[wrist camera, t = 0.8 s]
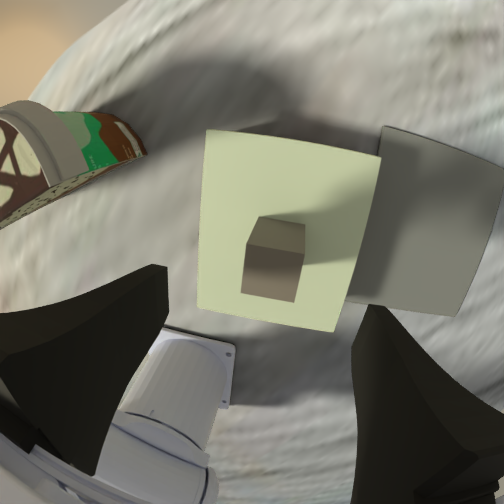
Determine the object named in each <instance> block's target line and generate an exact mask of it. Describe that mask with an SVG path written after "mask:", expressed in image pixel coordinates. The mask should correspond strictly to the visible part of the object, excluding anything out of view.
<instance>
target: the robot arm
mask: <svg viewBox="0 0 504 504" xmlns="http://www.w3.org/2000/svg"><path fill="white" fill-rule="evenodd" d="M168 314H169V299H168V271H167V267H165V266H160V265H156V264H150V265H148V266H145V267H143V268H140V269H138V270H136V271H134V272H132V273H129V274H127V275H125V276H123V277H121V278H119V279H117V280H114V281H112V282H110V283H108V284H106V285H103V286H101V287H99V288H96V289H94V290H91V291H89V292H87V293H84V294H82V295H79V296H76V297H74V298H71V299H67V300H64V301H61V302H58V303H54V304H50V305H46V306H42V307H38V308H34V309H29V310H23V311H17V312H9V313H0V504H216V501H217V497H218V492H219V481H218V478H217V476H216V473H215V470H214V469H213V468H211V467H208V466H207V465H208V461H209V458H210V454H207V453H205V452H204V451H205V448H206V445H207V442H208V439H209V435H210V432H211V429H212V426H213V423H214V420H215V417H216V413H217V410H218V408H220V409H228V408H229V403H230V395H231V386H232V377H233V368H234V360H235V351H236V348H235V346H234V345H233V344H230V343H225V342H221V341H216V340H212V339H208V338H203V337H199V336H195V335H191V334H187V333H183V332H179V331H175V330H171V329H167V328H163V325H164V323H165V321H166V318H167V316H168ZM148 351H149V356H150V357H149V358H148V360H147V362H146V363H145V365H144V367H143V369H142V370H141V372H140V374H139V375H138V377H137V379H136V380H135V382H134V384H133V385H132V387H131V389H130V391H129V392H128V394H127V396H126V397H125V399H124V401H123V403H122V404H121V406H120V408H119V410H118V409H117V407H118V405H119V403H120V400H121V398H122V396H123V394H124V392H125V389H126V387H127V385H128V383H129V382H130V380H131V378H132V376H133V375H134V373H135V372H136V370H137V368H138V367H139V365H140V364H141V362H142V361H143V359H144V357H145V356H146V354H147V353H148ZM227 352H228V353H227ZM229 353H231V354H229ZM351 361H352V379H353V388H354V396H355V405H356V414H357V427H358V439H357V458H356V468H355V478H354V485H353V491H352V498H351V503H350V504H504V495H503V496H501V497H499V498H497V499H495V496H494V492H496V491H498V490H499V483H498V480H499V479H500V478H501V477H503V476H504V414H503V413H501V412H499V411H498V410H496V409H494V408H493V407H491V406H490V405H488V404H486V403H485V402H483V401H482V400H480V399H479V398H477V397H476V396H475V395H473V394H472V393H471V392H469V391H468V390H467V389H465V388H464V387H463V386H461V385H460V384H459V383H458V382H457V381H455V380H454V379H453V378H452V377H451V376H450V375H449V374H448V373H446V372H445V371H444V370H443V369H442V368H441V367H440V366H439V365H438V364H437V363H436V362H435V361H434V360H433V359H432V358H431V357H430V356H429V355H428V354H427V353H426V352H425V351H424V349H423V348H422V347H421V346H420V345H419V344H418V343H417V342H416V341H415V339H414V338H413V337H412V336H411V335H410V334H409V333H408V331H407V330H406V329H405V328H404V327H403V326H402V324H401V323H400V322H399V321H398V320H397V319H396V317H395V316H394V315H393V314H392V313H391V312H390V311H389V310H388V309H387V308H386V307H385V306H381V305H375V304H369V305H368V307H367V310H366V312H365V315H364V318H363V320H362V323H361V325H360V328H359V330H358V333H357V335H356V338H355V340H354V342H353V345H352V359H351Z"/></svg>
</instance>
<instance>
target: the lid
mask: <svg viewBox="0 0 504 504" xmlns="http://www.w3.org/2000/svg"><path fill="white" fill-rule="evenodd" d="M380 163H381V157H379V156H375V155H371V154H366V153H362V152H358V151H353V150H349V149H344V148H339V147H334V146H329V145H324V144H318V143H313V142H307V141H301V140H295V139H289V138H283V137H276V136H269V135H261V134H253V133H245V132H235V131H225V130H214V129H208V130H206V140H205V152H204V164H203V177H202V192H201V209H200V227H199V250H198V280H197V307H198V308H202V309H207V310H212V311H216V312H221V313H226V314H231V315H236V316H241V317H246V318H251V319H256V320H261V321H267V322H272V323H278V324H283V325H289V326H295V327H301V328H307V329H313V330H320V331H326V332H334V329H335V326H336V324H337V321H338V318H339V315H340V312H341V309H342V306H343V303H344V300H345V297H346V294H347V291H348V287H349V284H350V281H351V278H352V274H353V271H354V268H355V264H356V261H357V257H358V254H359V250H360V247H361V243H362V239H363V236H364V232H365V228H366V224H367V220H368V216H369V212H370V208H371V204H372V200H373V195H374V191H375V186H376V182H377V177H378V173H379V168H380Z"/></svg>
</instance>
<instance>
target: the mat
mask: <svg viewBox="0 0 504 504" xmlns="http://www.w3.org/2000/svg"><path fill="white" fill-rule="evenodd" d="M377 156H379V157H381V163H380V168H379V173H378V177H377V182H376V186H375V191H374V195H373V200H372V204H371V208H370V212H369V216H368V220H367V224H366V228H365V232H364V236H363V239H362V243H361V247H360V250H359V254H358V257H357V261H356V264H355V268H354V271H353V274H352V278H351V281H350V284H349V287H348V291H347V294H346V297H345V300H344V301H346V302H352V303H359V304H365V305H369V304H375V305H381V306H385V307H386V308H392V309H399V310H406V311H413V312H420V313H427V314H435V315H443V316H450V317H455V316H456V314H457V312H458V310H459V308H460V306H461V304H462V302H463V299H464V297H465V295H466V293H467V291H468V289H469V286H470V284H471V282H472V279H473V277H474V275H475V272H476V270H477V268H478V265H479V263H480V260H481V257H482V255H483V252H484V249H485V247H486V244H487V241H488V238H489V235H490V232H491V229H492V226H493V223H494V220H495V217H496V214H497V210H498V207H499V203H500V200H501V196H502V192H503V188H504V169H503V168H501V167H498V166H496V165H494V164H492V163H489V162H487V161H485V160H482V159H480V158H478V157H475V156H473V155H470V154H468V153H465V152H463V151H460V150H457V149H455V148H452V147H449V146H446V145H444V144H441V143H438V142H435V141H432V140H429V139H426V138H423V137H420V136H416V135H413V134H410V133H407V132H403V131H400V130H396V129H393V128H389V127H385V126H382V132H381V138H380V143H379V149H378V154H377Z"/></svg>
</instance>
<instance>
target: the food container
mask: <svg viewBox="0 0 504 504" xmlns="http://www.w3.org/2000/svg"><path fill="white" fill-rule="evenodd" d="M145 155H148V154H147V152H146V150H145V148H144V145H143V143H142V141H141V139H140V138H139V137H138V135H137V134H136V133H135V132H134V130H133V129H132V128H131V127H130V125H129V124H127V123H126V122H124V121H123V120H121V119H119V118H118V117H116V116H114V115H112V114H105V113H98V112H52V111H51V110H50V109H48V108H46V107H45V106H43V105H41V104H40V103H36V102H33V101H29V100H26V101H16V102H13V103H10V104H7V105H5V106H3V107H0V230H1V229H3V228H4V227H6V226H8V225H10V224H12V223H13V222H15V221H17V220H19V219H21V218H23V217H24V216H26V215H28V214H30V213H32V212H34V211H36V210H38V209H40V208H42V207H44V206H46V205H48V204H50V203H52V202H54V201H56V200H58V199H60V198H62V197H64V196H66V195H68V194H69V193H71V192H73V191H75V190H77V189H78V188H80V187H82V186H84V185H86V184H88V183H90V182H92V181H94V180H95V179H97V178H99V177H101V176H103V175H105V174H107V173H109V172H111V171H113V170H115V169H117V168H119V167H122V166H124V165H126V164H128V163H130V162H132V161H134V160H137V159H139V158H141V157H143V156H145Z"/></svg>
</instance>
